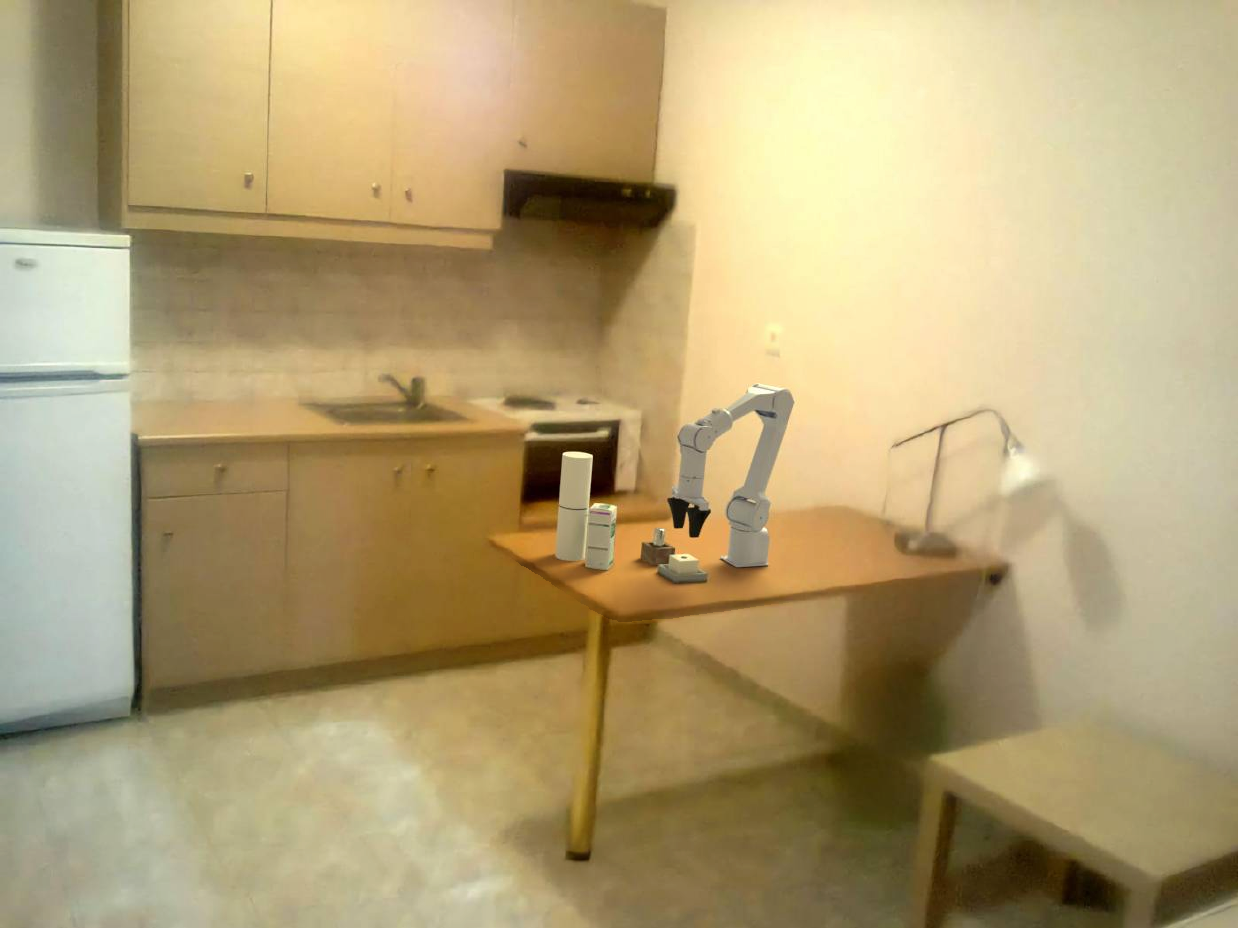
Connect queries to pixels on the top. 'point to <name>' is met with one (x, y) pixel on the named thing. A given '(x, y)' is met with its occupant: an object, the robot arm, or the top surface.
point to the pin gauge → (659, 537)
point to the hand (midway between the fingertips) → (686, 532)
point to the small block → (683, 564)
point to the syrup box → (600, 536)
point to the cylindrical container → (573, 506)
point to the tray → (682, 575)
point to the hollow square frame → (656, 553)
